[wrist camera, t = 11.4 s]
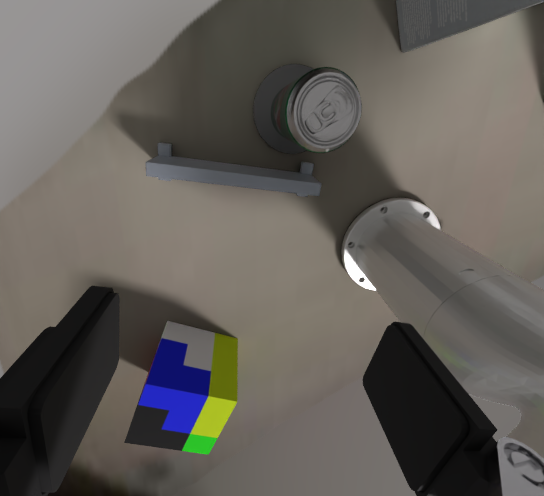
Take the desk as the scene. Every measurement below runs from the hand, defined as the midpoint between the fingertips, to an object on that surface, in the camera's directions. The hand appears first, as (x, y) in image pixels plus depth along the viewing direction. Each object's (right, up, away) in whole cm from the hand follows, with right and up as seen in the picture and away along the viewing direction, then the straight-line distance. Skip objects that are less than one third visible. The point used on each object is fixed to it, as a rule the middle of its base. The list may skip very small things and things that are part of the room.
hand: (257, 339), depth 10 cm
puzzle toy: (-11, -12, +32) cm, 36 cm away
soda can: (+3, +17, +19) cm, 25 cm away
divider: (-3, +12, +21) cm, 24 cm away
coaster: (+3, +17, +19) cm, 26 cm away
